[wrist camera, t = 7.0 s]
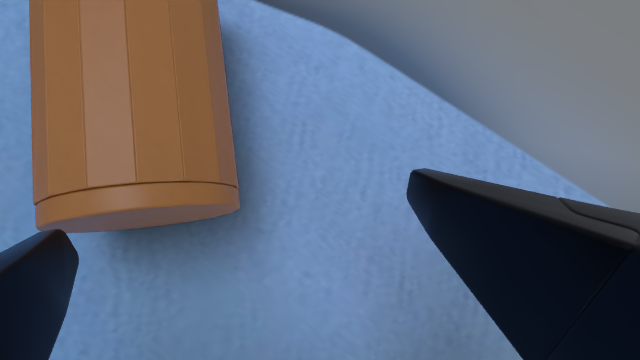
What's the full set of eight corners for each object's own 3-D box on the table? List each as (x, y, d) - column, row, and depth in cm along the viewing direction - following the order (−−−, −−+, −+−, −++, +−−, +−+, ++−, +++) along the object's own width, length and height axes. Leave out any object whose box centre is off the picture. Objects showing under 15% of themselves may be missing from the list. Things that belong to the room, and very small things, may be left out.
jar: (14, 219, 8) (10, -148, 10) (50, 237, 14) (43, 0, 16) (266, 199, 12) (233, -66, 14) (215, 220, 18) (195, 30, 19)
